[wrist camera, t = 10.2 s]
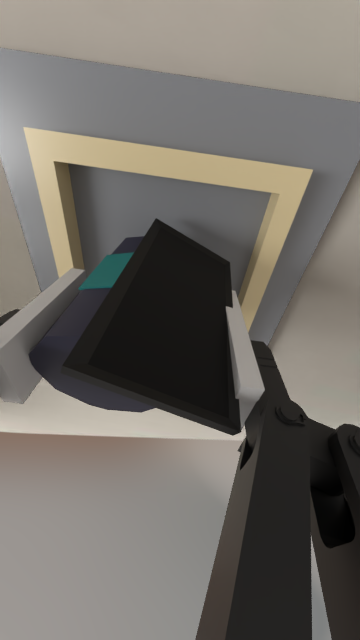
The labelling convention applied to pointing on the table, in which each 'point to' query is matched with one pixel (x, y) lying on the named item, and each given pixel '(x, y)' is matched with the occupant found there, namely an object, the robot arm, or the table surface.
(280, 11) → the table surface
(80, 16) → the table surface
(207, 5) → the table surface
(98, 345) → the speaker
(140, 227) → the mount board
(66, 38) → the table surface
